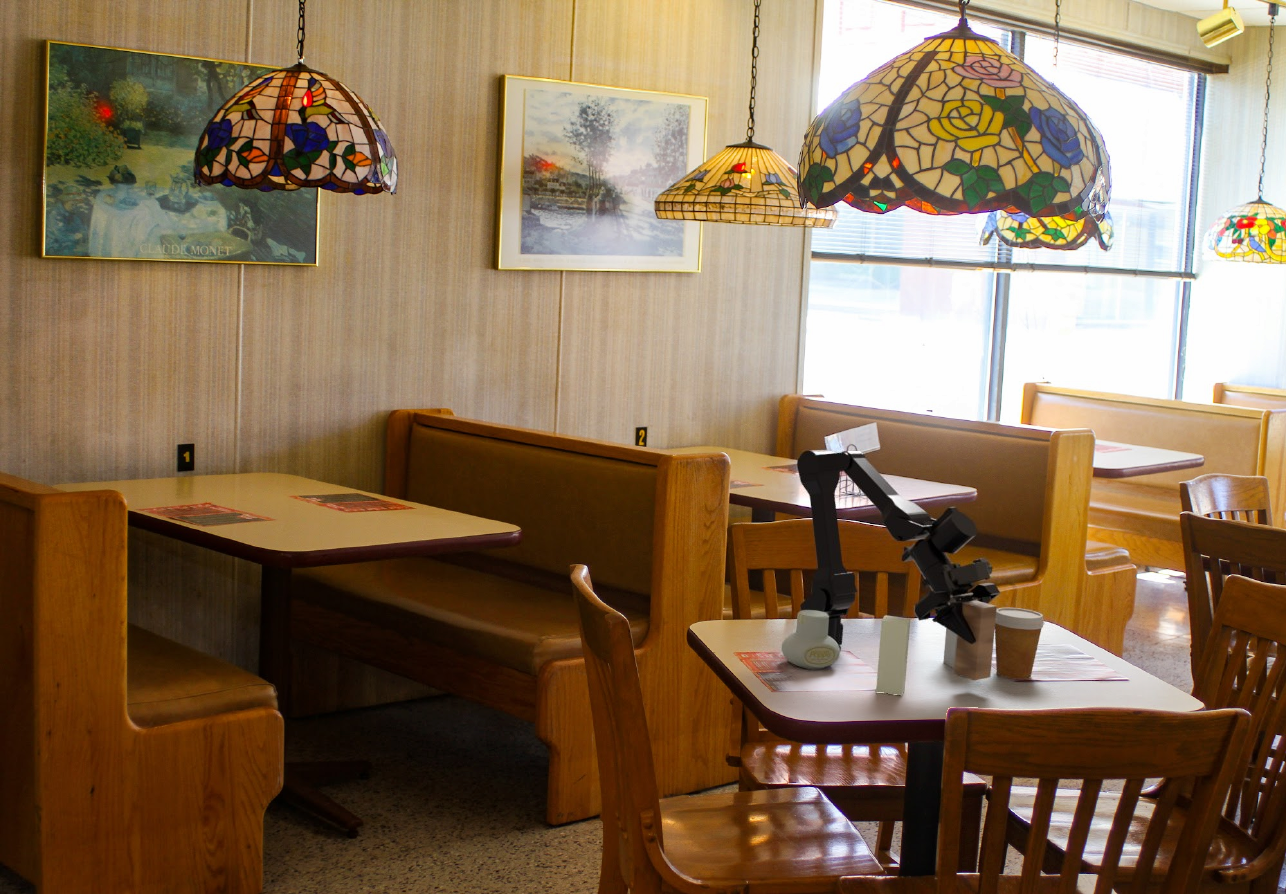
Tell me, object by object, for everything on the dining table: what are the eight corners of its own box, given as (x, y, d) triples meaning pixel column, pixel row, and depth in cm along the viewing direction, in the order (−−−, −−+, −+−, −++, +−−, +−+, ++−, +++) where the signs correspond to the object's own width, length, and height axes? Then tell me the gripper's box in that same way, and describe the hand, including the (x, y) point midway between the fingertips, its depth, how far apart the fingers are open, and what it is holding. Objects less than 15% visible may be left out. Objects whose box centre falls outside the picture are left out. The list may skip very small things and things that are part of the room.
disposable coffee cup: (1040, 672, 243) (1045, 611, 242) (1038, 684, 234) (1044, 621, 233) (989, 665, 246) (994, 604, 245) (985, 677, 237) (991, 614, 236)
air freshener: (826, 658, 244) (830, 607, 243) (845, 670, 237) (849, 618, 236) (774, 659, 241) (777, 608, 240) (791, 672, 233) (795, 619, 232)
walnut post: (954, 674, 227) (960, 603, 226) (969, 670, 230) (975, 600, 228) (975, 680, 224) (981, 608, 222) (990, 677, 226) (996, 605, 225)
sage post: (875, 692, 223) (881, 620, 222) (879, 686, 227) (884, 615, 226) (901, 696, 222) (907, 623, 220) (904, 689, 226) (910, 618, 225)
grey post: (953, 668, 242) (959, 602, 241) (943, 662, 247) (948, 596, 245) (975, 668, 243) (981, 602, 242) (964, 662, 248) (970, 596, 246)
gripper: (933, 546, 221) (980, 622, 214) (996, 539, 233) (1042, 611, 226) (893, 582, 228) (938, 656, 221) (956, 573, 240) (1001, 644, 233)
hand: (982, 641), depth 225 cm, fingers closed on walnut post, 4 cm apart
